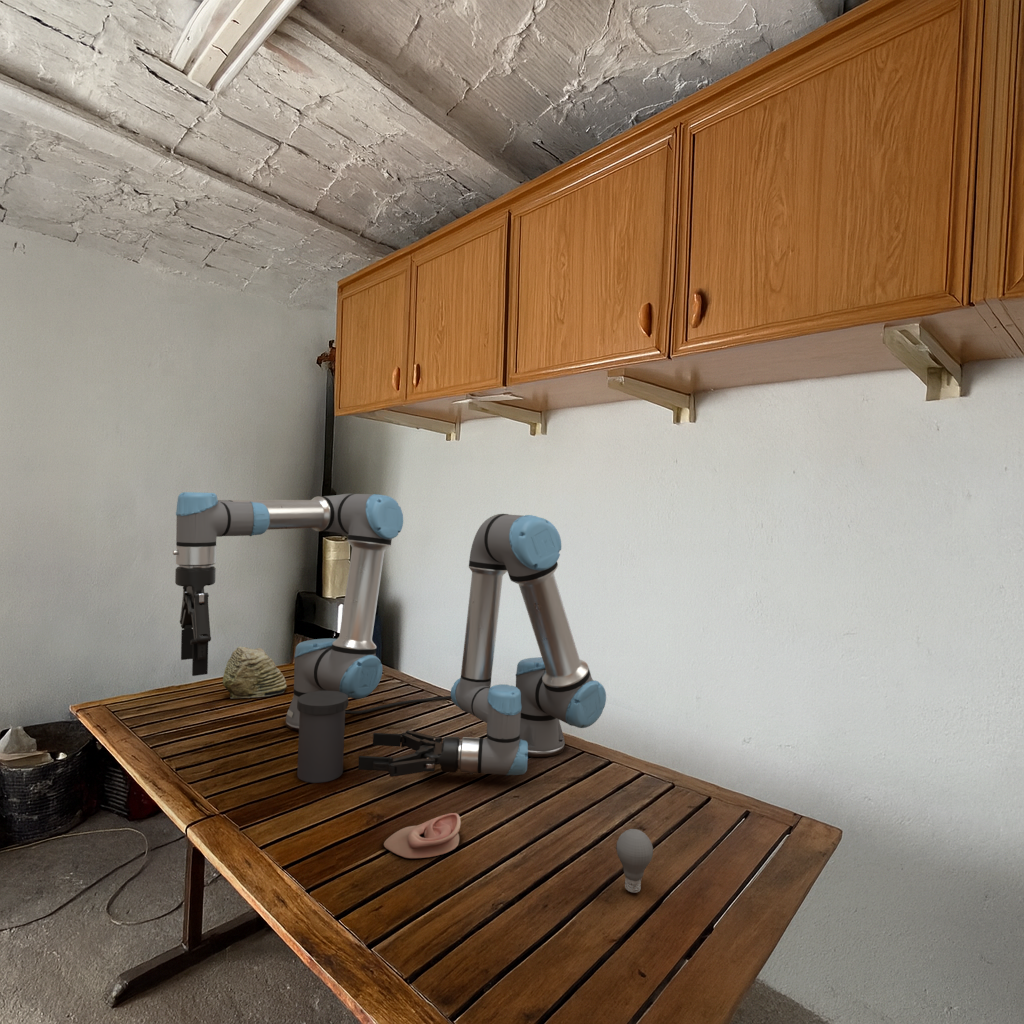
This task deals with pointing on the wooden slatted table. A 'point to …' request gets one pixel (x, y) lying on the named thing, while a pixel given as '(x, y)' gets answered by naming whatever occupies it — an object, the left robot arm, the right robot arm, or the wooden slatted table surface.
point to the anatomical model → (426, 838)
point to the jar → (320, 747)
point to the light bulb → (634, 857)
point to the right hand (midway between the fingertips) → (366, 750)
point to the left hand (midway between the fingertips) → (193, 666)
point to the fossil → (252, 674)
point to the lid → (322, 702)
